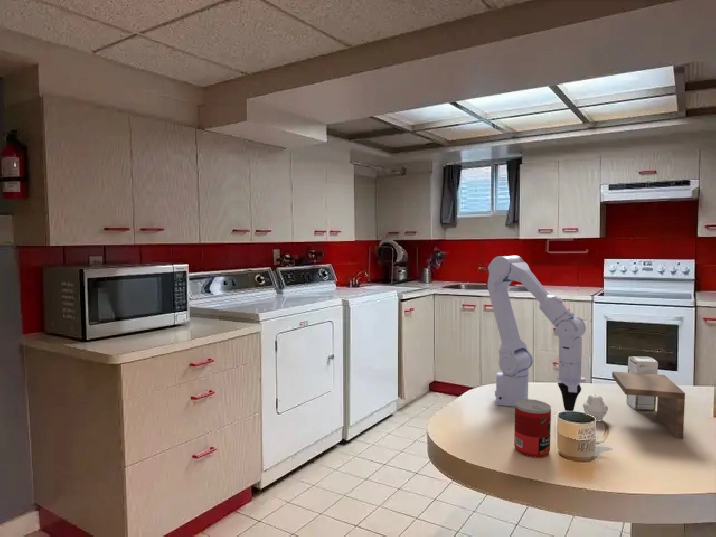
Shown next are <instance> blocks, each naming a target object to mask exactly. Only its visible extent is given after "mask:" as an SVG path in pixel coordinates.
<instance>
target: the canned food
mask: <svg viewBox="0 0 716 537" xmlns="http://www.w3.org/2000/svg"><path fill="white" fill-rule="evenodd" d="M551 426H552V407H551V405H550V404H549V403H547V402H545V401H542V400H537V399H530V398H529V399H524V400H518V401H516V402H515V406H514V432H513V433H514V438H513V439H514V440H513V441H514V442H513V443H514V444H513V446H514V449H515V451H516V452H518V453H519V454H520V455H522V456H526V457H530V458H536V459H537V458H539V459H541V458H545V457H547V456H548V455H550V451H551V432H552V431H551V428H552V427H551Z"/></svg>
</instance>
